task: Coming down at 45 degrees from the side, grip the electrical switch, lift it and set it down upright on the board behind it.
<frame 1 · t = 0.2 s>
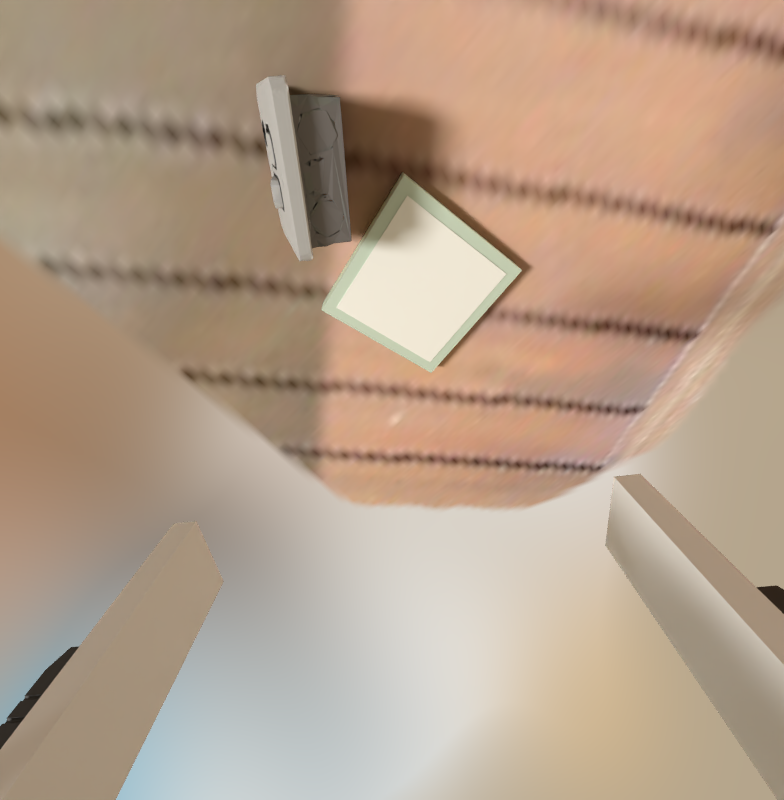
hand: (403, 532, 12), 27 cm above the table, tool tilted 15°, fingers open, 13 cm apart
board: (418, 284, 35), on the table
electrical switch: (306, 159, 28), on the table
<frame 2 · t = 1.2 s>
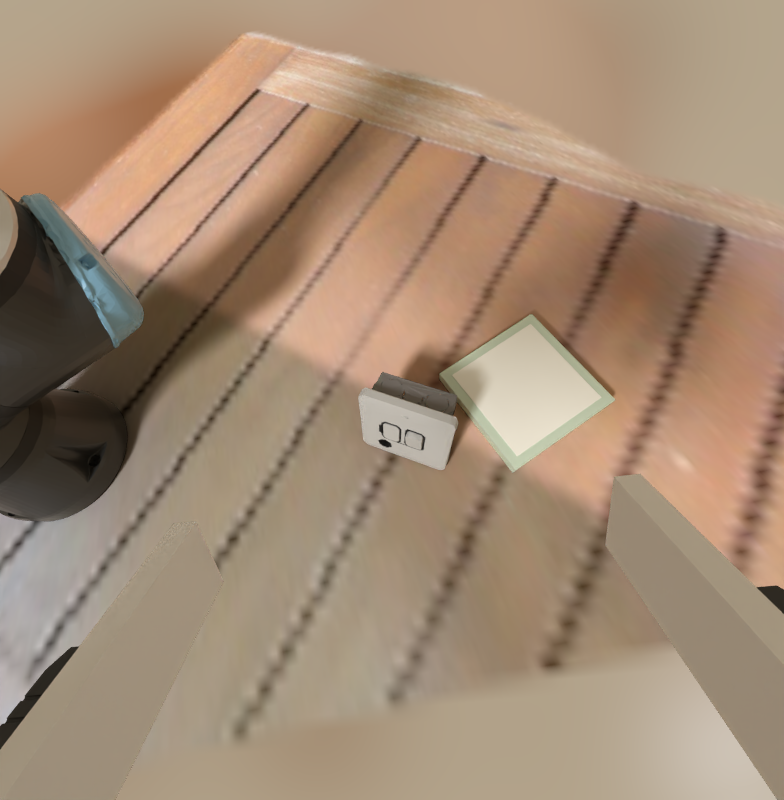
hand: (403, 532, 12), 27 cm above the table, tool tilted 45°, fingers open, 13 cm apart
board: (521, 391, 41), on the table
electrical switch: (409, 434, 41), on the table
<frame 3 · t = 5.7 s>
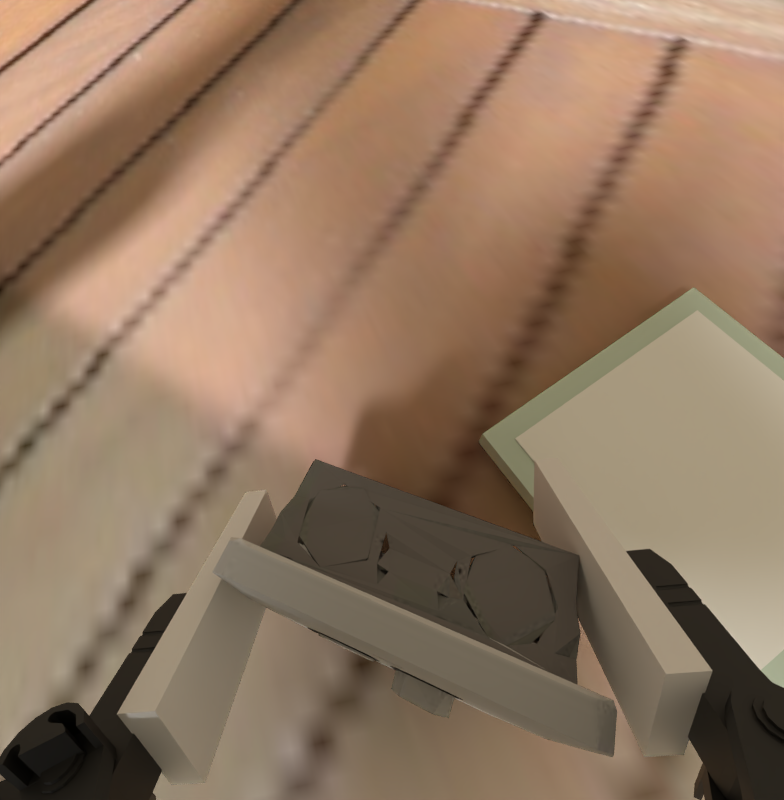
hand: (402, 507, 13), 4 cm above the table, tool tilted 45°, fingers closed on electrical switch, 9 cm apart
board: (685, 477, 17), on the table
electrical switch: (406, 589, 16), on the table, touching gripper
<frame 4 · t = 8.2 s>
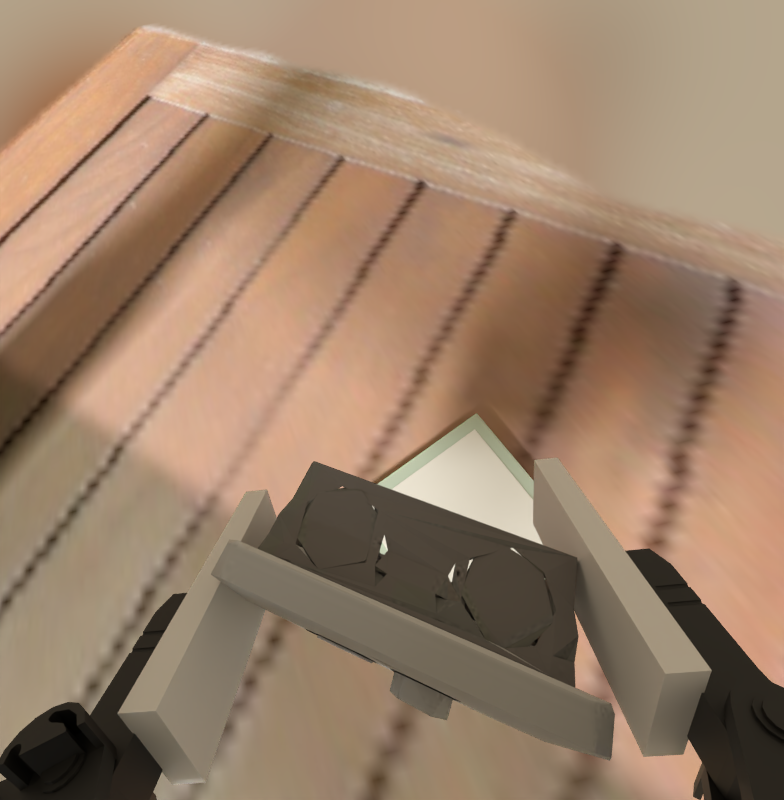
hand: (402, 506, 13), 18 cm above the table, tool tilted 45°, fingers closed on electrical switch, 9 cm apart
board: (461, 529, 29), on the table
electrical switch: (405, 590, 16), point 13 cm above the table, touching gripper
when the fingers open (7 cm above the table, at t = 10.8 s): electrical switch drops 1 cm, resting on board.
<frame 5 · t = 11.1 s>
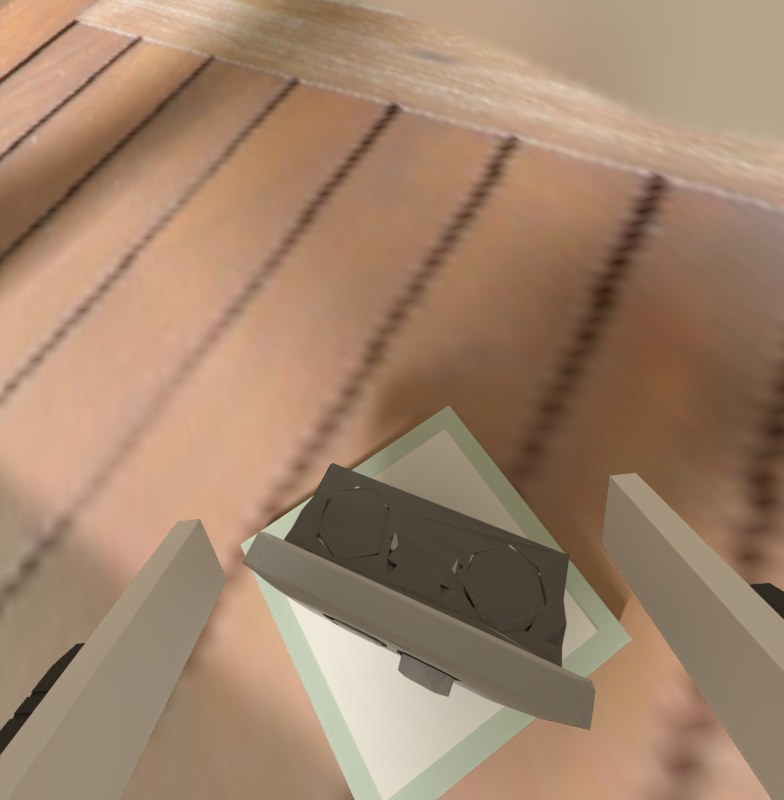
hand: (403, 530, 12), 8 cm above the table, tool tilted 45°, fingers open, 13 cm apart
board: (420, 584, 19), on the table
electrical switch: (411, 582, 17), point 1 cm above the table, touching board
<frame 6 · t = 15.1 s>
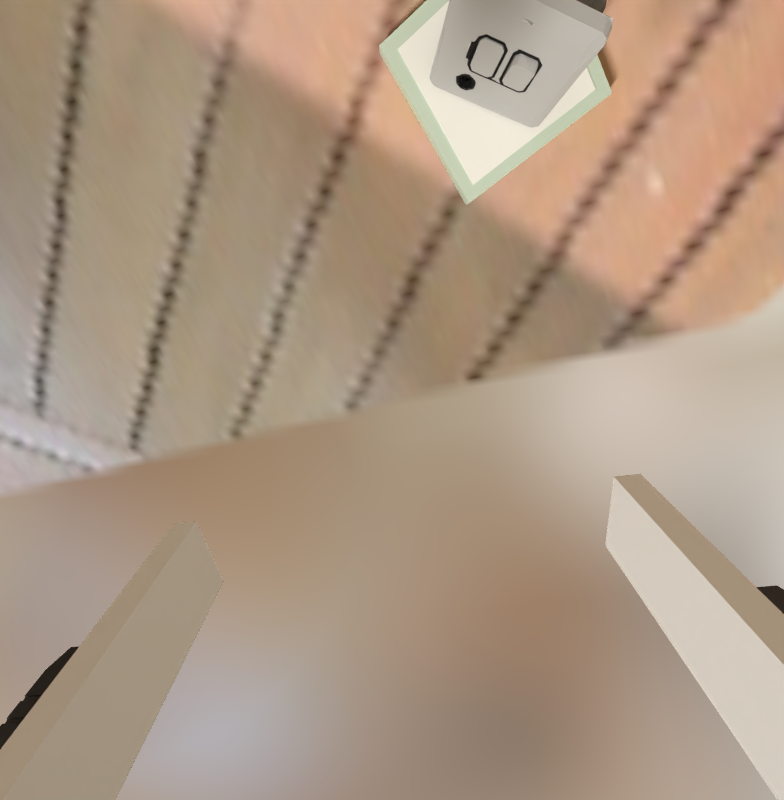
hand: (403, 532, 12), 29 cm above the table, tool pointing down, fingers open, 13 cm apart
board: (493, 77, 30), on the table
electrical switch: (493, 67, 28), point 1 cm above the table, touching board
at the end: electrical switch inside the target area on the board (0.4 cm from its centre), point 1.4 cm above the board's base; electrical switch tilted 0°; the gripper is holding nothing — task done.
